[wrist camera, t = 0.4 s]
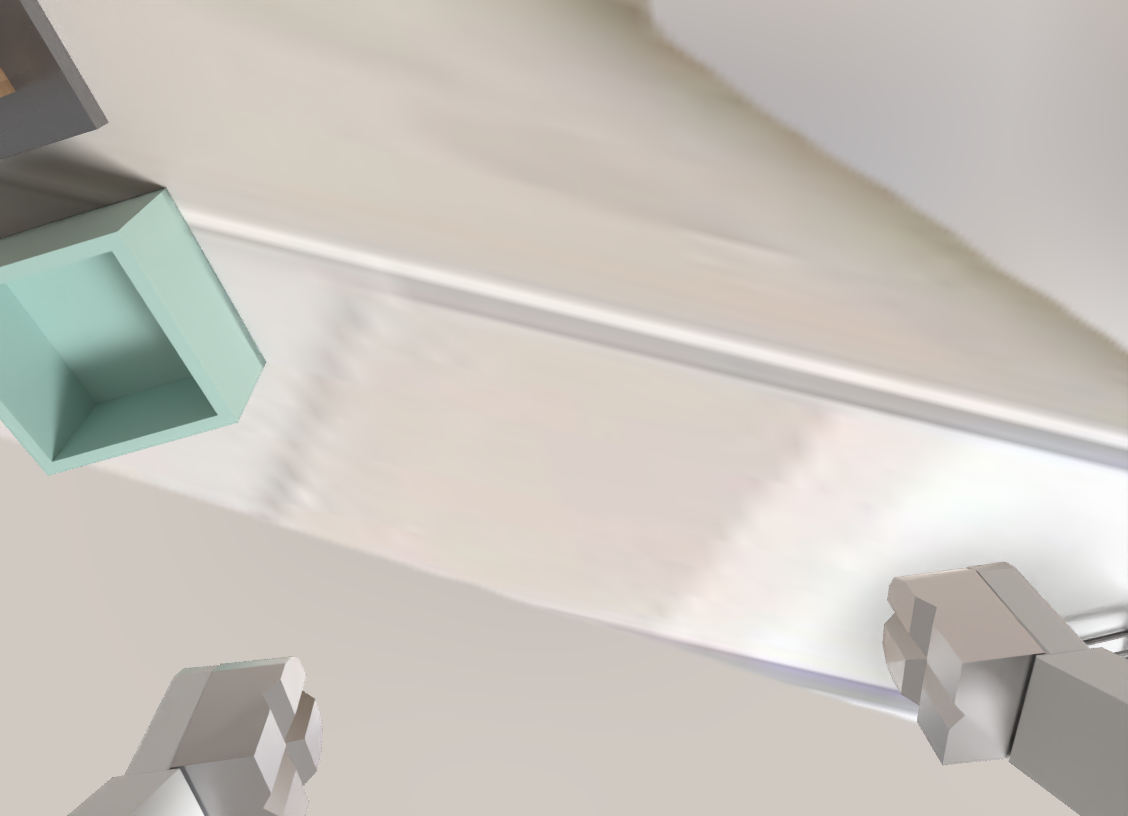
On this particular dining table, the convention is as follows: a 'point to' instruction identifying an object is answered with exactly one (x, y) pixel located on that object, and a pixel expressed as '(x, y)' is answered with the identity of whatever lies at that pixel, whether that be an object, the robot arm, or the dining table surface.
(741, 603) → the dining table surface
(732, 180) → the dining table surface
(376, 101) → the dining table surface
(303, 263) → the dining table surface
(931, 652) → the robot arm
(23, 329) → the sage bin
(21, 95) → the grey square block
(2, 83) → the walnut strut
